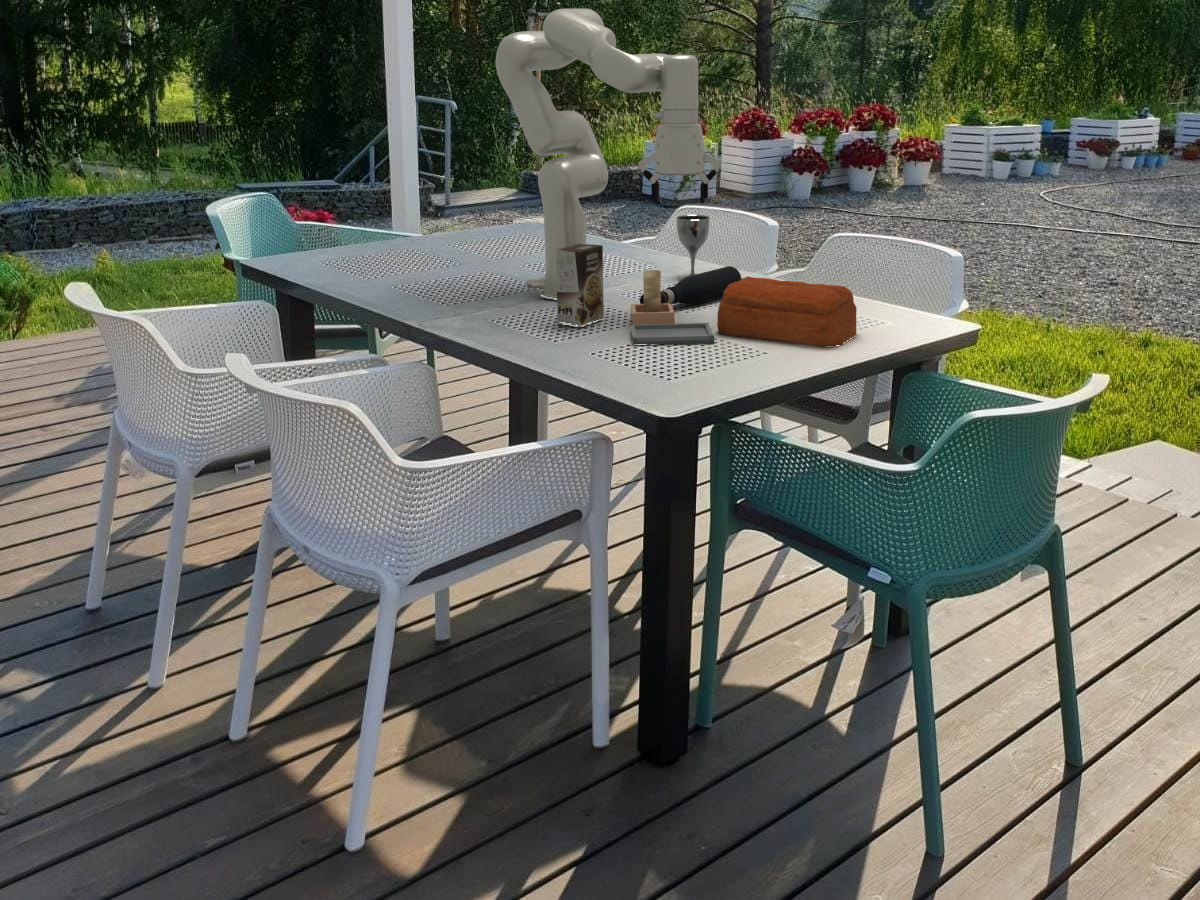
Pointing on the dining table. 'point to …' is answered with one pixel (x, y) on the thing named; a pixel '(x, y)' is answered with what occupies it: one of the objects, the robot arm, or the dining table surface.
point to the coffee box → (580, 284)
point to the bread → (788, 312)
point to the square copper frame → (652, 315)
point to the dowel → (652, 290)
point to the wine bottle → (700, 287)
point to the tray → (672, 333)
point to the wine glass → (692, 235)
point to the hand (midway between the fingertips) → (679, 202)
